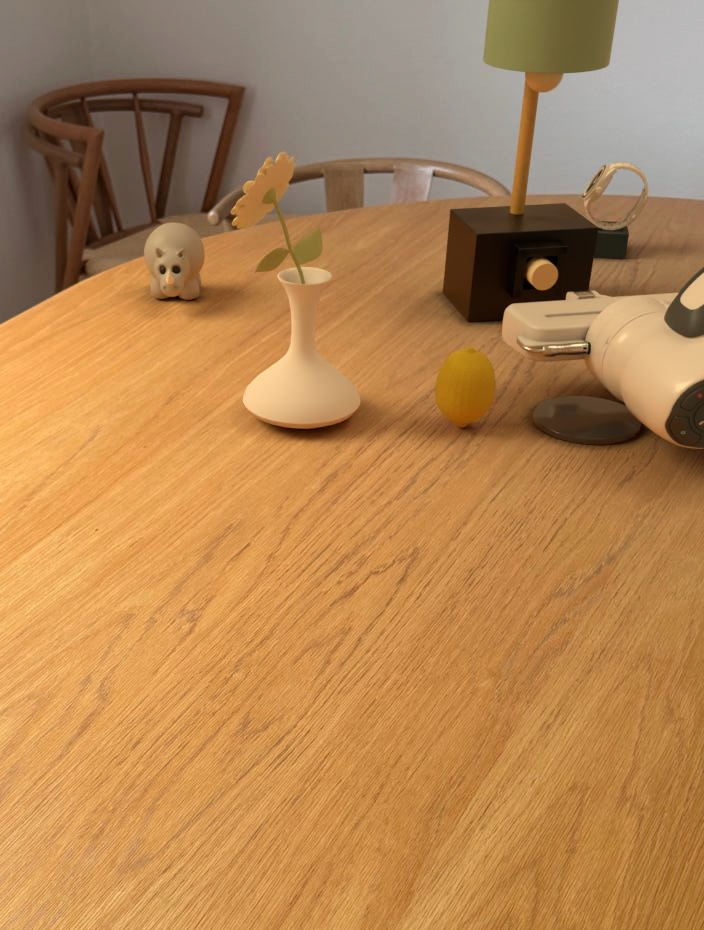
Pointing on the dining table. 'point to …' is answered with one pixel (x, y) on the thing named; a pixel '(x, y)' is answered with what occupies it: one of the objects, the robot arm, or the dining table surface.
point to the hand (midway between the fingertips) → (578, 298)
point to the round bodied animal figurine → (174, 261)
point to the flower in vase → (294, 321)
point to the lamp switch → (541, 273)
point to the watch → (610, 233)
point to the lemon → (465, 386)
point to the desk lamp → (528, 164)
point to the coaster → (586, 420)
